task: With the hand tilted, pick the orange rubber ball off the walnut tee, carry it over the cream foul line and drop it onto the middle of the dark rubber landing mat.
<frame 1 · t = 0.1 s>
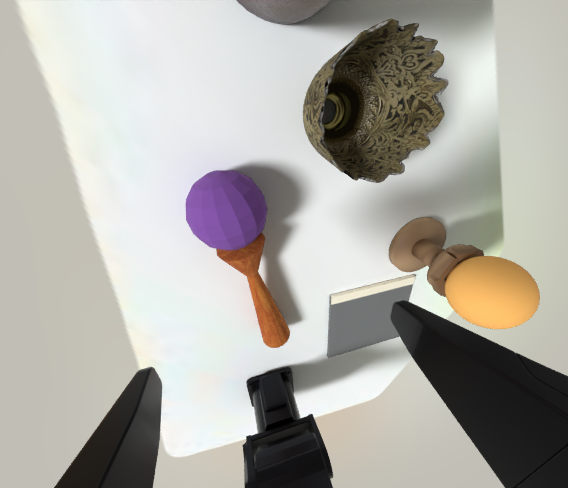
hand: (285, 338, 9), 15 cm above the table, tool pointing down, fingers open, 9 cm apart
cup: (325, 111, 19), on the table
kendama: (249, 260, 25), on the table
landing mat: (367, 317, 34), on the table
ball tee: (414, 243, 29), on the table
rubber ball: (487, 291, 21), point 9 cm above the table, touching ball tee
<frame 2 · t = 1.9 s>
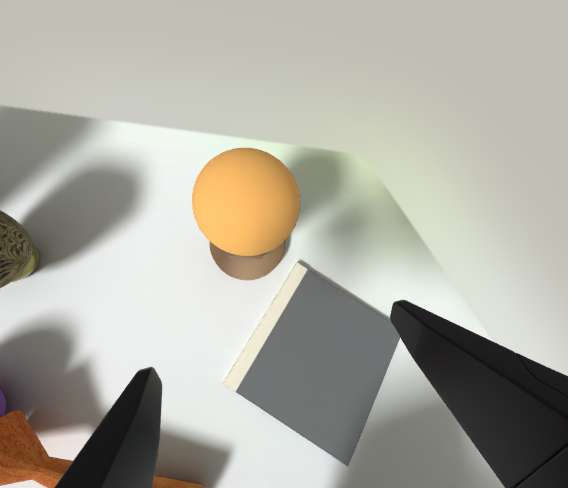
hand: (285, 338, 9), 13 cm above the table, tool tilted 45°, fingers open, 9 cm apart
cup: (21, 262, 20), on the table
kendama: (74, 447, 18), on the table
landing mat: (318, 354, 21), on the table
ball tee: (248, 244, 23), on the table
rubber ball: (247, 203, 15), point 9 cm above the table, touching ball tee
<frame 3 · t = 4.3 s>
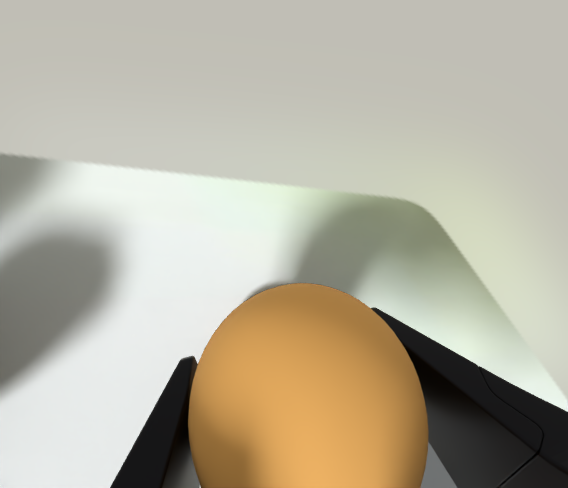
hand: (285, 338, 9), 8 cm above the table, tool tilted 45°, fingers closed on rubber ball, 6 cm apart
rubber ball: (303, 391, 7), point 9 cm above the table, touching ball tee, gripper
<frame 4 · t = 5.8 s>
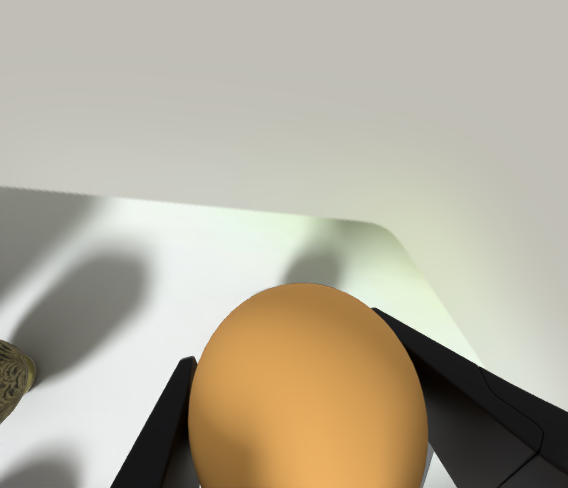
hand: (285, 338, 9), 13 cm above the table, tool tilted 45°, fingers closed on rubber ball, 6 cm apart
cup: (16, 375, 18), on the table
rubber ball: (303, 391, 7), point 15 cm above the table, touching gripper
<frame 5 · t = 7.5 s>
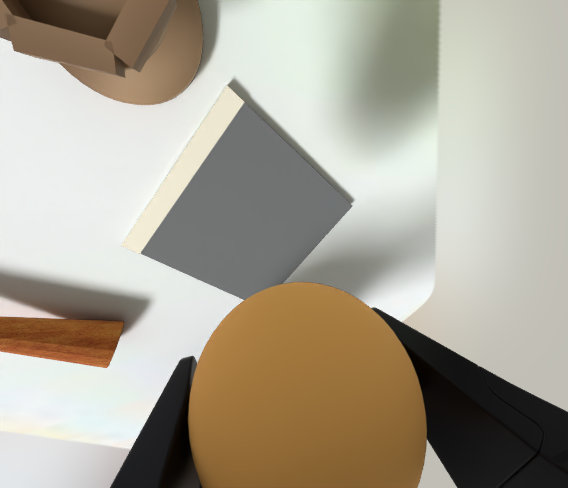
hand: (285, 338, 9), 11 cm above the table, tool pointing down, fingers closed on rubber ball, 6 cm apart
landing mat: (247, 221, 18), on the table
ball tee: (125, 19, 11), on the table
rubber ball: (302, 389, 7), point 13 cm above the table, tilted 45°, touching gripper
when the fingers open (4 cm above the table, at t = 9.2 s): rubber ball drops 2 cm, resting on landing mat.
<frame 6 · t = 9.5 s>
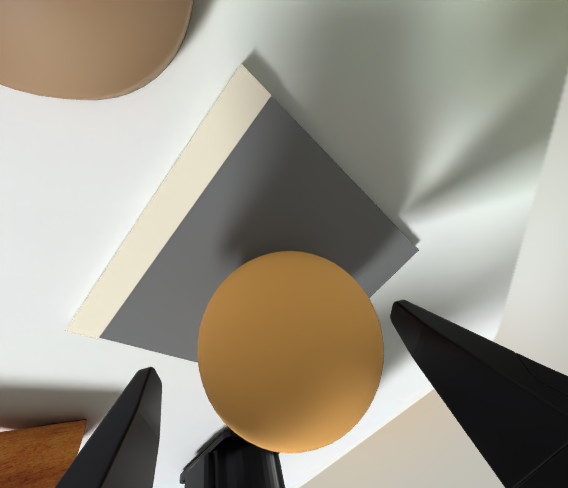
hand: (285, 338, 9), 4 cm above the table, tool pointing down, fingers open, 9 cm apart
landing mat: (266, 278, 12), on the table
rubber ball: (289, 337, 9), point 4 cm above the table, tilted 45°, touching landing mat
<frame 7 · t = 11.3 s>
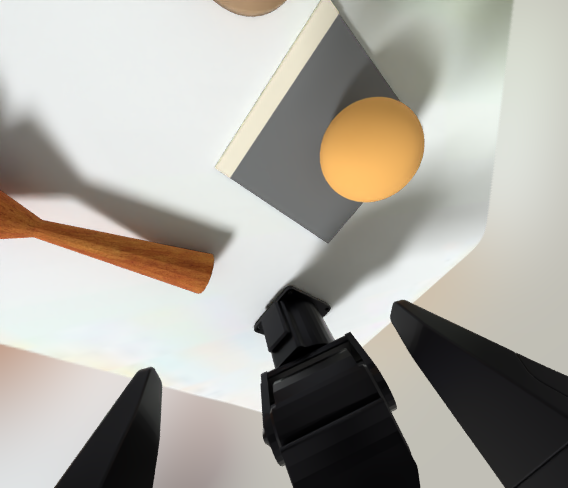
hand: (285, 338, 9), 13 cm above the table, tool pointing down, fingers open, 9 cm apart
kendama: (66, 214, 16), on the table
landing mat: (324, 148, 18), on the table
rubber ball: (368, 153, 16), point 4 cm above the table, tilted 52°, touching landing mat
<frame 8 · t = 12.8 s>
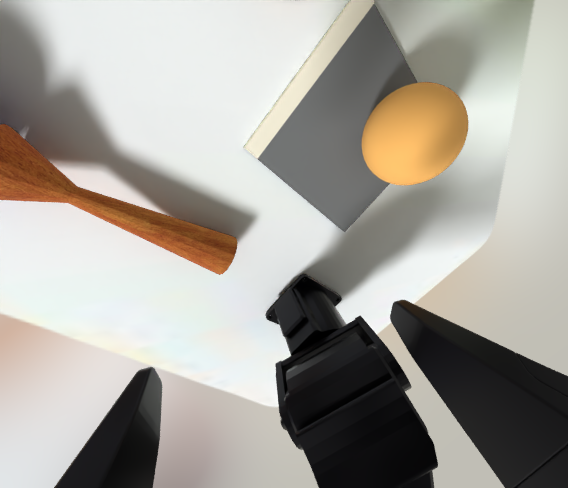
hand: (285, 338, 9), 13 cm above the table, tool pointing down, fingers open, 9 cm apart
kendama: (96, 185, 16), on the table
landing mat: (349, 136, 19), on the table
rubber ball: (409, 137, 17), point 4 cm above the table, tilted 63°, touching landing mat
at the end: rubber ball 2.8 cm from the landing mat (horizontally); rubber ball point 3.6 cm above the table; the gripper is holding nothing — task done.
